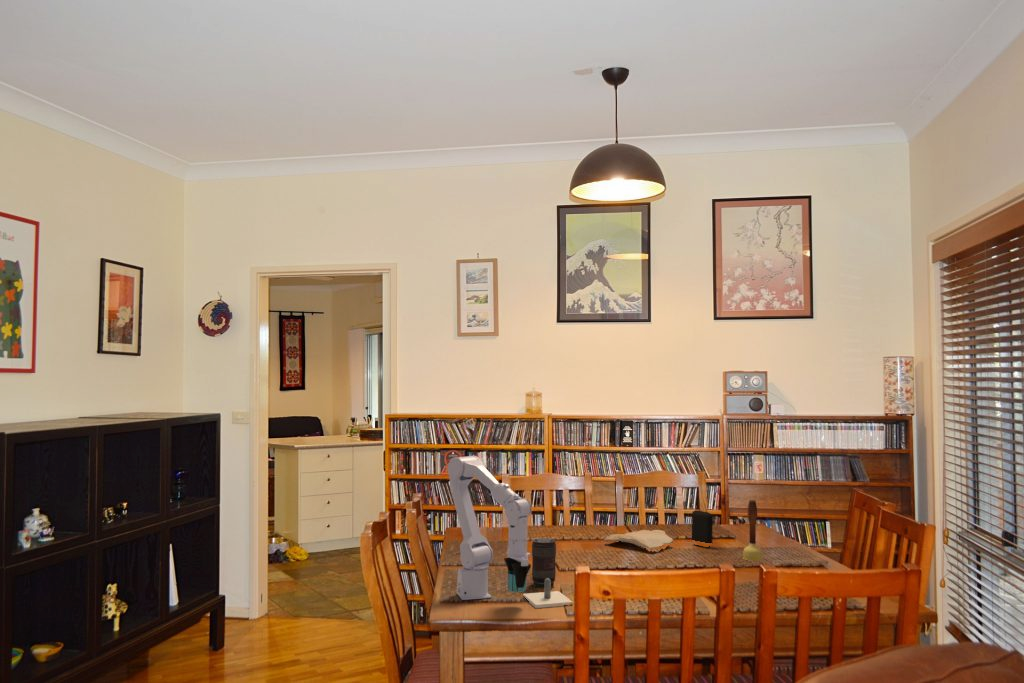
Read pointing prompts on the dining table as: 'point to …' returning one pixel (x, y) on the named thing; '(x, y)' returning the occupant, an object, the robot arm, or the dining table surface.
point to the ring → (514, 583)
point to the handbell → (752, 535)
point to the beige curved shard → (643, 538)
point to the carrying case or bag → (702, 526)
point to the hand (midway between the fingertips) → (516, 584)
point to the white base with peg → (547, 597)
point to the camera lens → (543, 561)
